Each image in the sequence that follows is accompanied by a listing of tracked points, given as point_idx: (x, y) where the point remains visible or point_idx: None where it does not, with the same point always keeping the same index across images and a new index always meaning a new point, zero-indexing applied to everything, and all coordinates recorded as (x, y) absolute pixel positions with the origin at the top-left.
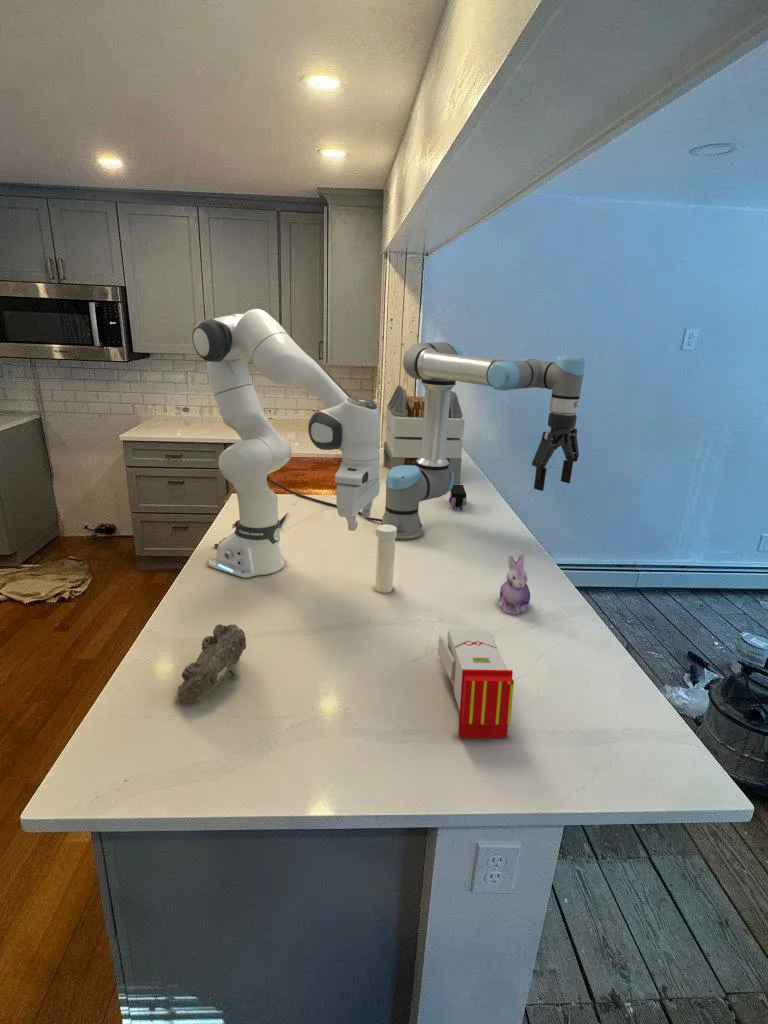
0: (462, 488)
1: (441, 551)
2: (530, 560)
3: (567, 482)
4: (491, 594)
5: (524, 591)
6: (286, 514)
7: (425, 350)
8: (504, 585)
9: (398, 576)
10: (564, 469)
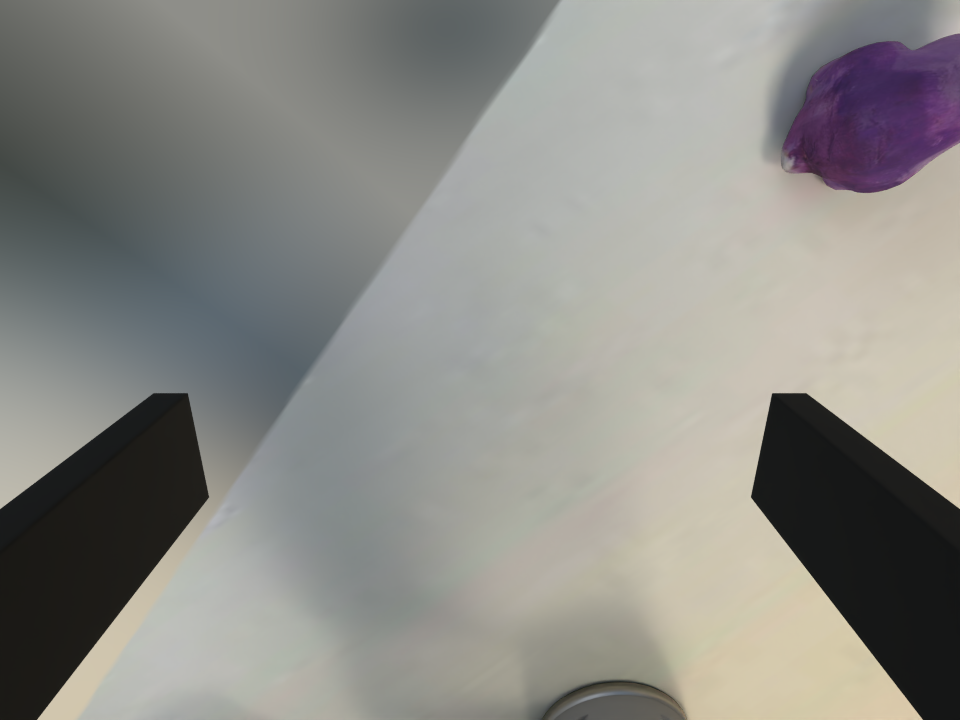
0: None
1: (631, 575)
2: (408, 340)
3: (186, 412)
4: (817, 239)
5: (947, 43)
6: None
7: None
8: (933, 158)
9: None
10: (100, 595)
